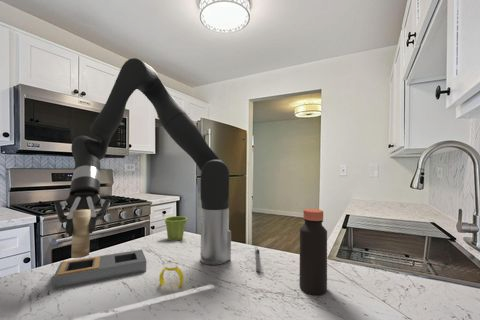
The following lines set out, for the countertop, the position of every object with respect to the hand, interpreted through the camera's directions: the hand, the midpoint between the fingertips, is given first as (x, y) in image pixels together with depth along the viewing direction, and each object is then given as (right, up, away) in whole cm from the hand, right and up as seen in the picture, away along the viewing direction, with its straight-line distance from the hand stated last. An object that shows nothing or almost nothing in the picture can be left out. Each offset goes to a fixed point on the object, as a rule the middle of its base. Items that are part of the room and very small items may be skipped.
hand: (80, 232), depth 62 cm
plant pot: (+15, -15, +38) cm, 43 cm away
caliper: (+48, -15, +18) cm, 53 cm away
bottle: (+61, -14, -2) cm, 63 cm away
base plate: (+4, -13, +4) cm, 14 cm away
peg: (-1, -7, +2) cm, 7 cm away
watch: (+25, -14, -3) cm, 28 cm away
